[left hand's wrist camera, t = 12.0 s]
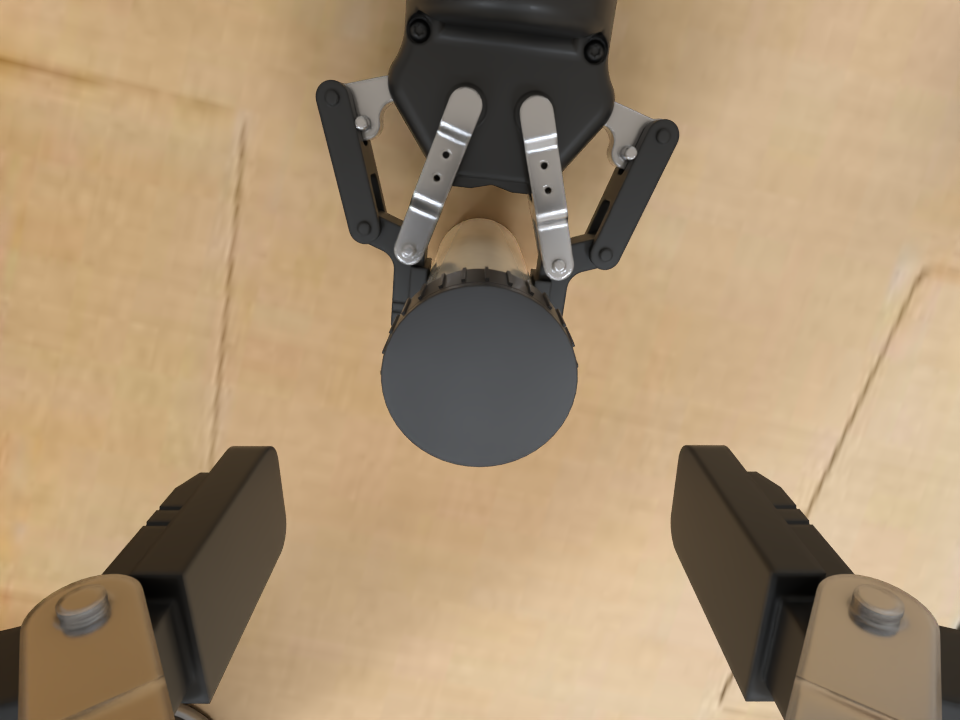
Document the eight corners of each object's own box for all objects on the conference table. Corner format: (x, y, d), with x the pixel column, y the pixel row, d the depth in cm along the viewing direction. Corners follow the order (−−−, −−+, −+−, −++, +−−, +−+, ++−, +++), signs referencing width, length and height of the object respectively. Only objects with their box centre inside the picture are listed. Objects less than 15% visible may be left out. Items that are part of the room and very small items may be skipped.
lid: (494, 466, 20) (496, 503, 18) (353, 370, 18) (338, 398, 16) (607, 339, 18) (622, 364, 16) (461, 226, 17) (459, 238, 15)
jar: (486, 317, 33) (492, 472, 18) (420, 268, 32) (368, 388, 17) (538, 253, 31) (592, 361, 17) (471, 199, 30) (464, 264, 16)
